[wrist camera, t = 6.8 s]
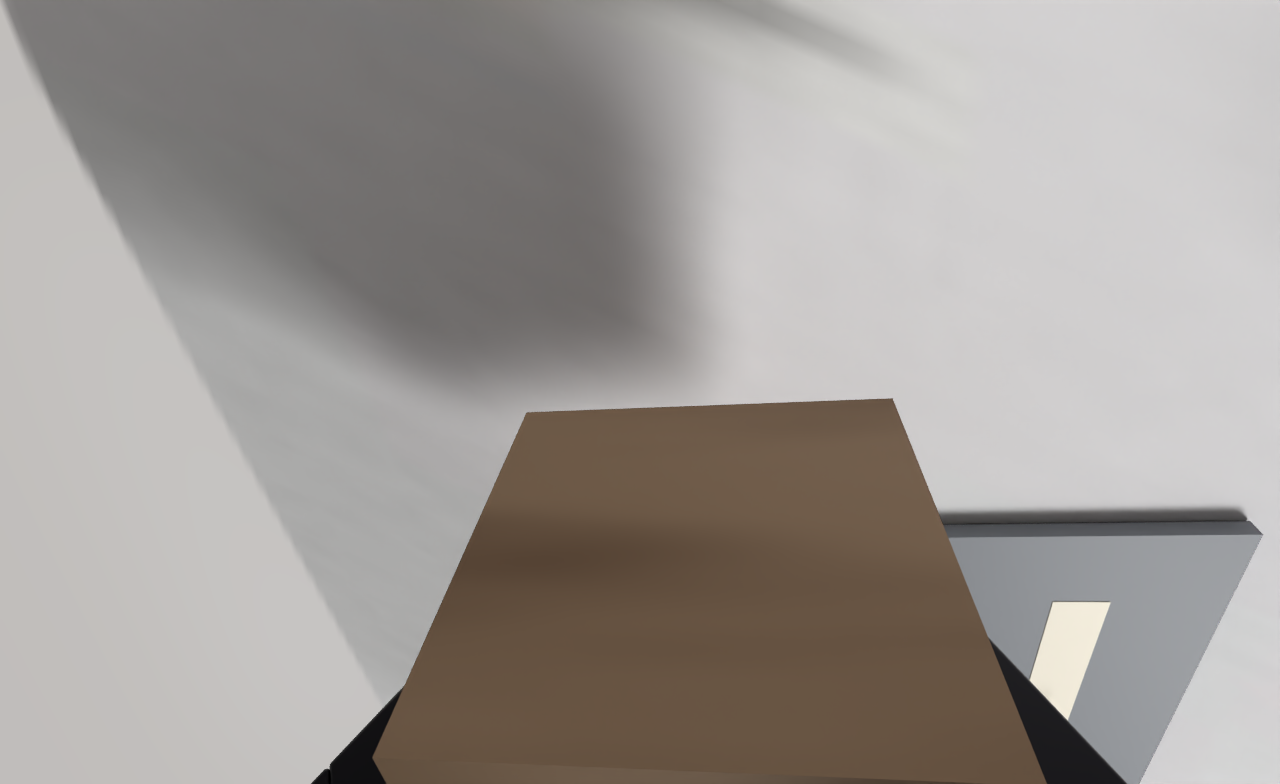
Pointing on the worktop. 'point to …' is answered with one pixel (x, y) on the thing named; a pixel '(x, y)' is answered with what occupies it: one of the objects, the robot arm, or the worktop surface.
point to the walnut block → (709, 613)
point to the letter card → (1106, 616)
